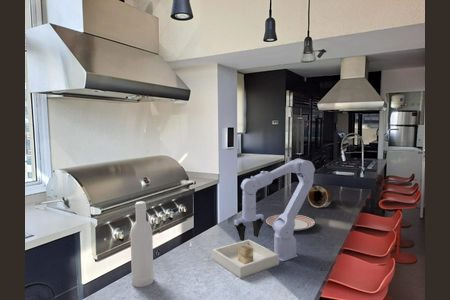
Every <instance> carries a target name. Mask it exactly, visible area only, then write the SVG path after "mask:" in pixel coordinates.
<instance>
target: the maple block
mask: <svg viewBox="0 0 450 300" xmlns="http://www.w3.org/2000/svg"><path fill="white" fill-rule="evenodd" d="M238 261H240V262H241V263H243V264H244V265H245V264H248V263H251V262H253V248H252V247H250V246H249V245H247V244H246V245H243V246H239V247H238Z"/></svg>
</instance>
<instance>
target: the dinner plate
mask: <svg viewBox="0 0 450 300" xmlns="http://www.w3.org/2000/svg"><path fill="white" fill-rule="evenodd" d="M279 215H280V214H275V215H272V216H269V217H268V218H266V219H265V222H266V224H268V225H269V226H270V227H273V222H274V221H275V220H276V219H278V217H279ZM315 224H316V221H315V220H314V219H313V218H311V217H308V216H305V215H300V214H297V216H296V218H295V227H294V232H297V231H298V232H299V231H304V230H308V229H310V228H312V227H314V225H315Z"/></svg>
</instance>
